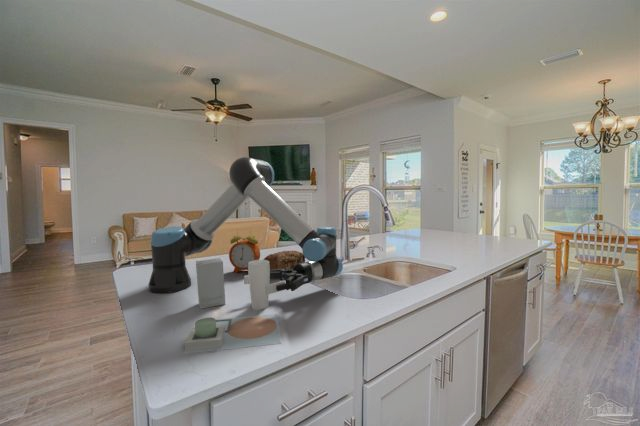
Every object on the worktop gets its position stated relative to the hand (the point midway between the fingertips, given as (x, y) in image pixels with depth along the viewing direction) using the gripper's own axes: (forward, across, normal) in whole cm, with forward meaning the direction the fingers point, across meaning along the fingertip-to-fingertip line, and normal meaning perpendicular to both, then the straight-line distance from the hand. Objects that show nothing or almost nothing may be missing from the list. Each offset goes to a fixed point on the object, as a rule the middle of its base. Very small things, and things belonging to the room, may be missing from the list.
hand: (254, 284), depth 95 cm
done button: (+20, -11, -5) cm, 23 cm away
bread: (-32, +30, -8) cm, 44 cm away
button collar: (+20, -11, -7) cm, 24 cm away
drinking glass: (-2, 0, -8) cm, 8 cm away
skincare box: (+9, +14, -8) cm, 18 cm away
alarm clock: (-19, +44, -8) cm, 49 cm away
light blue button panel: (+12, -11, -8) cm, 18 cm away
